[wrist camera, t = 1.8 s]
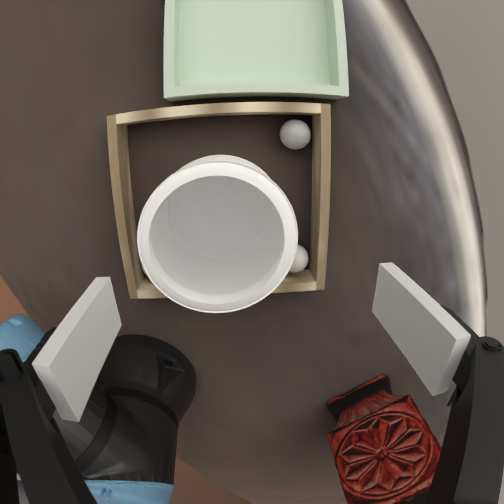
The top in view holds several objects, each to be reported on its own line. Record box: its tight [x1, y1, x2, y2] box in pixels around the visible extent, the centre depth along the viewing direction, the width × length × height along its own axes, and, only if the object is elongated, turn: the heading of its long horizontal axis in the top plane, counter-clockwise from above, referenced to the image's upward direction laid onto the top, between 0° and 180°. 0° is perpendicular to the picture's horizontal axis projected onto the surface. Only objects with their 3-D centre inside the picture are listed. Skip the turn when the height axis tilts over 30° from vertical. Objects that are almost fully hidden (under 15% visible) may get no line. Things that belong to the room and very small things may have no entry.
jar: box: [137, 155, 298, 313], centre depth 27 cm, size 11×10×15 cm
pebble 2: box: [289, 244, 308, 273], centre depth 35 cm, size 3×3×3 cm
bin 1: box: [164, 0, 349, 102], centre depth 25 cm, size 18×18×4 cm
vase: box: [327, 374, 441, 504], centre depth 34 cm, size 14×14×30 cm
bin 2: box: [107, 102, 331, 299], centre depth 32 cm, size 22×20×4 cm
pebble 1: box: [280, 119, 311, 150], centre depth 30 cm, size 3×3×3 cm
